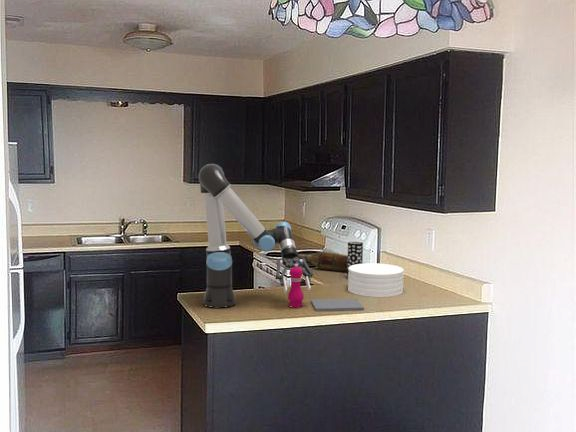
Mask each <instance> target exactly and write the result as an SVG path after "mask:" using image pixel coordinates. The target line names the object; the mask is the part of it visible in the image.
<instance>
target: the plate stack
mask: <svg viewBox="0 0 576 432" xmlns="http://www.w3.org/2000/svg"><path fill="white" fill-rule="evenodd" d="M348 270H349V272H348V276H349V277H348V278H347V281H348V282H347V285H348V287H347V290H348V292H350V293H351V294H354V295H357V296H363V297H371V298H372V297H373V298H387V297H396V296H400V295H401V294H403V292H404V289H403V288H404V272H405V271H404V268H403V267H401V266H399V265H398V266H397V265H395V264H388V263H378V262H377V263H376V262H375V263H373V262H368V263H367V262H365V263H364V262H363V263H362V264H355V265H352V266H349V268H348Z"/></svg>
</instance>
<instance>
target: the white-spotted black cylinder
mask: <svg viewBox="0 0 576 432" xmlns="http://www.w3.org/2000/svg"><path fill="white" fill-rule="evenodd" d="M363 250H364V242H361V241H348V242H347V255H348V262H347V272H346V274H347V275H346V277H347V279H348V277H349V276H348V272H349V270H348V268H349V266H352V265H355V264H363V263H364V262H363V257H364V255H363V254H364V253H363V252H364V251H363Z"/></svg>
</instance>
